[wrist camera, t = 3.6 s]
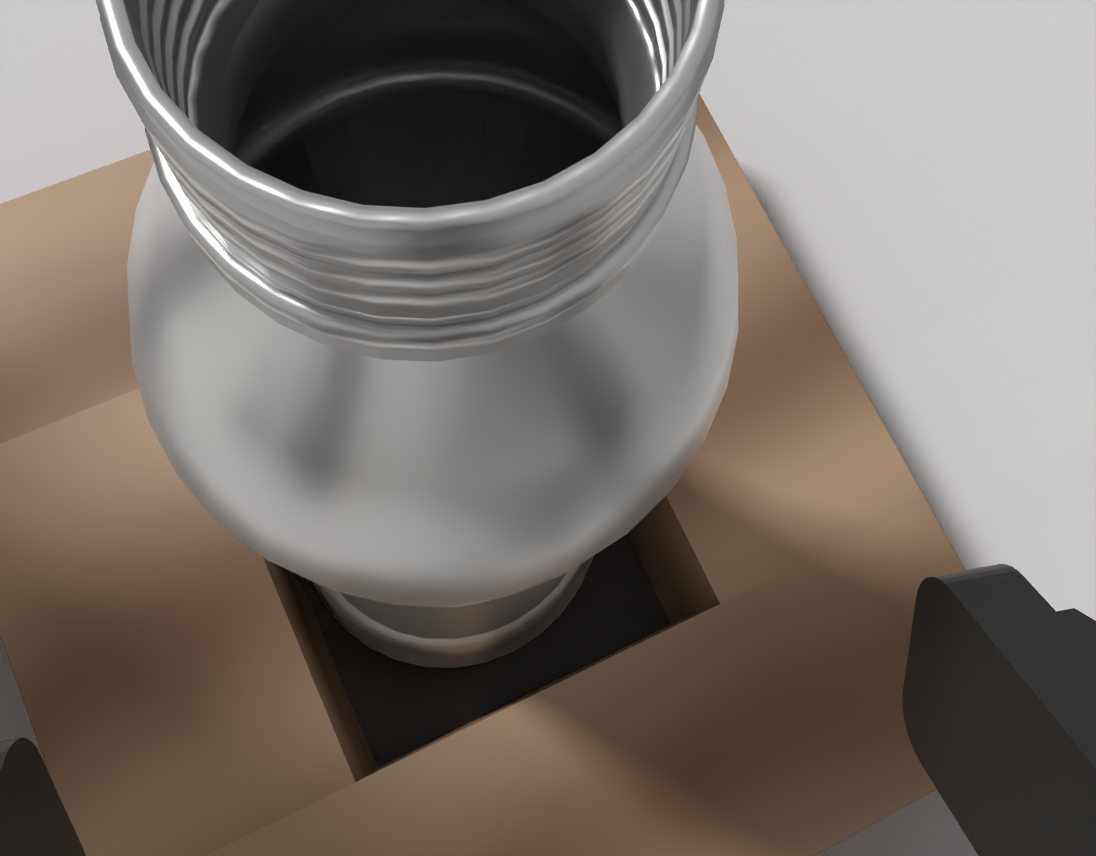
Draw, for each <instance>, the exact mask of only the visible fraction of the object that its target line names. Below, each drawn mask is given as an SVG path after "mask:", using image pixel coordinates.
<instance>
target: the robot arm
mask: <svg viewBox="0 0 1096 856" xmlns="http://www.w3.org/2000/svg"><path fill="white" fill-rule="evenodd" d="M902 706H903V715H904V720H905V725H906V729H907V732H908V736H909V739H910V742H911V744H912V747H913V749H914V751H915V753H916V756H917V758H918V759H919V761H920V763H921V765H922V766H923V768H924V769H925V771H926V773H927V774H928V776H929V777H930V779H931V780H932V782H933V784H934V785H935V787H936V788H937V790H938V792H939V793H940V795H941V796H942V798H943V800H944V801H945V803H946V804H947V806H948V807H949V809H950V811H951V812H952V814H953V815H954V817H955V819H956V820H957V822H958V823H959V825H960V827H961V828H962V830H963V831H964V833H965V834H966V836H967V838H968V839H969V841H970V842H971V844H972V846H973V847H974V849H975V850H976V852H977V854H978V855H979V856H1096V621H1095V620H1093V619H1092V618H1090V617H1088V616H1086V615H1085V614H1083V613H1081V612H1080V611H1078V610H1076V609H1074V608H1073V609H1068V610H1063V611H1057V612H1056V611H1055V610H1054V609H1053V608H1052V607H1051V606H1050V605H1049V603H1048V602H1047V601H1046V600H1045V599H1044V598H1043V597H1042V596H1041V595H1040V594H1039V593H1038V591H1037V590H1036V589H1035V588H1034V587H1033V586H1032V585H1031V584H1030V583H1029V582H1028V581H1027V580H1026V578H1025V577H1024V576H1023V575H1022V574H1021V573H1020V572H1018V571H1017V570H1016V569H1014V568H1013V567H1011V566H1009V565H1006V564H998V565H993V566H987V567H982V568H976V569H971V570H965V571H959V572H954V573H948V574H943V575H937V576H932V577H928V578H925V579H924V580H923V581H922V582H921V584H920V585H919V588H918V590H917V595H916V601H915V608H914V616H913V623H912V630H911V637H910V644H909V651H908V658H907V665H906V672H905V679H904V686H903V695H902ZM0 856H86V855H85V852H84V849H83V847H82V845H81V842H80V840H79V838H78V836H77V834H76V832H75V829H74V827H73V825H72V823H71V821H70V819H69V816H68V814H67V812H66V810H65V808H64V805H63V803H62V801H61V799H60V797H59V795H58V792H57V790H56V788H55V786H54V784H53V781H52V779H51V777H50V775H49V773H48V771H47V768H46V766H45V764H44V762H43V760H42V757H41V755H40V753H39V751H38V750H37V748H36V747H35V745H34V744H33V743H32V742H31V741H30V740H28V739H26V738H19V739H13V740H8V741H2V742H0Z"/></svg>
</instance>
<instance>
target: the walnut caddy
mask: <svg viewBox="0 0 1096 856" xmlns="http://www.w3.org/2000/svg"><path fill="white" fill-rule="evenodd" d="M696 125H697V126H698V128H699V129H700V131H701V132H702V134H703V135H704V137H705V139H706V142H707V144H708V146H709V149H710V151H711V153H712V156H713V158H714V160H715V163H716V165H717V167H718V170H719V172H720V174H721V177H722V179H723V181H724V184H725V186H726V191H727V196H728V201H729V206H730V210H731V215H732V220H733V225H734V229H735V234H736V239H737V261H738V335H737V340H736V345H735V350H734V355H733V360H732V365H731V371H730V376H729V381H728V386H727V389H726V391H725V394H724V396H723V398H722V401H721V403H720V405H719V408H718V410H717V413H716V415H715V417H714V420H713V422H712V425H711V427H710V429H709V432H708V434H707V437H706V439H705V441H704V443H703V444H702V446H701V447H700V449H699V450H698V452H697V453H696V455H695V456H694V458H693V459H692V460H691V462H690V463H689V465H688V466H687V468H686V469H685V471H684V472H683V474H682V475H681V477H680V478H679V480H678V481H677V483H676V484H675V486H674V487H673V488H672V490H671V491H670V492H669V493H668V494H667V495H666V496H665V497H664V498H663V499H662V500H661V501H660V502H659V503H658V504H657V505H656V506H655V507H654V508H653V509H652V510H651V511H650V512H649V513H648V514H647V515H646V516H645V517H644V518H643V519H642V520H641V521H640V522H639V523H638V524H637V525H636V526H635V527H634V528H632V529H631V530H630V531H629V532H628V533H627V535H628V537H629V539H630V541H631V543H632V545H633V547H634V550H635V552H636V554H637V556H638V558H639V560H640V562H641V564H642V566H643V568H644V570H645V572H646V574H647V576H648V578H649V580H650V582H651V584H652V586H653V588H654V590H655V592H656V594H657V596H658V598H659V600H660V602H661V605H662V607H663V609H664V611H665V613H666V615H667V617H668V619H669V621H670V623H671V624H669V625H667V626H665V627H663V628H661V629H659V630H657V631H655V632H653V633H651V634H649V635H647V636H645V637H643V638H641V639H639V640H637V641H635V642H632V643H630V644H628V645H626V646H624V647H622V648H620V649H618V650H616V651H614V652H612V653H610V654H608V655H606V656H604V657H602V658H600V659H598V660H596V661H594V662H592V663H589V664H587V665H585V666H583V667H581V668H579V669H577V670H575V671H573V672H571V673H569V674H567V675H565V676H563V677H561V678H559V679H557V680H555V681H553V682H551V683H549V684H546V685H544V686H542V687H540V688H538V689H536V690H534V691H532V692H530V693H528V694H526V695H524V696H522V697H520V698H518V699H516V700H514V701H512V702H510V703H508V704H506V705H503V706H501V707H499V708H497V709H495V710H493V711H491V712H489V713H487V714H485V715H483V716H481V717H479V718H477V719H475V720H473V721H471V722H469V723H467V724H465V725H463V726H460V727H458V728H456V729H454V730H452V731H450V732H448V733H446V734H444V735H442V736H440V737H438V738H436V739H434V740H432V741H430V742H428V743H426V744H424V745H422V746H420V747H417V748H415V749H413V750H411V751H409V752H407V753H405V754H403V755H401V756H399V757H397V758H395V759H393V760H391V761H389V762H387V763H385V764H383V765H381V766H379V767H378V766H377V764H376V761H375V759H374V757H373V754H372V752H371V749H370V747H369V745H368V742H367V740H366V737H365V735H364V733H363V730H362V728H361V725H360V723H359V721H358V718H357V716H356V713H355V711H354V709H353V706H352V704H351V701H350V699H349V697H348V694H347V692H346V690H345V687H344V685H343V682H342V680H341V678H340V675H339V673H338V670H337V668H336V666H335V663H334V661H333V658H332V656H331V654H330V651H329V649H328V646H327V644H326V642H325V639H324V637H323V634H322V632H321V630H320V627H319V625H318V622H317V620H316V618H315V615H314V613H313V610H312V608H311V606H310V603H309V601H308V598H307V596H306V594H305V591H304V589H303V586H302V584H301V582H300V579H299V577H298V575H297V574H296V573H294V572H291V571H289V570H287V569H285V568H283V567H281V566H279V565H277V564H275V563H272V562H270V561H268V560H266V559H265V558H263V557H262V556H261V555H260V554H258V553H257V552H256V551H254V550H253V549H252V548H250V547H249V546H248V545H246V544H245V543H244V542H243V541H241V540H240V539H239V538H237V537H236V536H235V535H233V534H232V533H231V532H230V531H228V530H227V529H226V528H224V527H223V526H222V525H220V524H219V523H218V522H216V521H215V519H214V518H213V517H212V516H211V515H210V513H209V512H208V511H207V510H206V509H205V508H204V506H203V505H202V504H201V503H200V502H199V500H198V499H197V498H196V497H195V496H194V494H193V493H192V492H191V491H190V490H189V489H188V487H187V486H186V485H185V484H184V483H183V481H182V480H181V479H180V478H179V477H178V476H177V474H176V473H175V471H174V469H173V467H172V465H171V463H170V461H169V459H168V457H167V456H166V454H165V452H164V450H163V448H162V446H161V444H160V442H159V440H158V438H157V437H156V435H155V433H154V431H153V429H152V427H151V425H150V423H149V421H148V419H147V415H146V412H145V408H144V404H143V401H142V397H141V393H140V390H139V386H138V383H137V379H136V375H135V372H134V368H133V364H132V355H131V336H130V318H129V299H128V277H127V263H128V256H129V250H130V244H131V237H132V231H133V225H134V218H135V212H136V207H137V205H138V202H139V199H140V197H141V194H142V191H143V189H144V186H145V184H146V181H147V178H148V176H149V173H150V170H151V168H152V165H153V162H154V159H153V156H152V152H151V150H149V151H146V152H143V153H140V154H138V155H135V156H132V157H129V158H127V159H124V160H121V161H118V162H115V163H113V164H110V165H107V166H104V167H102V168H99V169H96V170H93V171H91V172H88V173H85V174H82V175H79V176H77V177H74V178H71V179H68V180H66V181H63V182H60V183H57V184H55V185H52V186H49V187H46V188H43V189H41V190H38V191H35V192H32V193H30V194H27V195H24V196H21V197H19V198H16V199H13V200H10V201H7V202H5V203H2V204H0V635H1V638H2V641H3V644H4V647H5V649H6V652H7V655H8V658H9V661H10V664H11V667H12V669H13V672H14V675H15V678H16V681H17V684H18V687H19V689H20V692H21V695H22V698H23V701H24V704H25V707H26V709H27V712H28V715H29V718H30V721H31V724H32V727H33V729H34V732H35V735H36V738H37V741H38V744H39V747H40V749H41V752H42V755H43V758H44V761H45V764H46V767H47V769H48V772H49V775H50V777H51V779H52V781H53V784H54V786H55V788H56V790H57V792H58V795H59V797H60V799H61V801H62V803H63V805H64V808H65V810H66V812H67V814H68V816H69V819H70V821H71V823H72V825H73V827H74V829H75V832H76V834H77V836H78V838H79V840H80V842H81V845H82V847H83V849H84V852H85V855H86V856H815V855H817V854H819V853H820V852H822V851H824V850H826V849H828V848H829V847H831V846H833V845H835V844H837V843H839V842H840V841H842V840H844V839H846V838H848V837H850V836H851V835H853V834H855V833H857V832H859V831H860V830H862V829H864V828H866V827H868V826H870V825H871V824H873V823H875V822H877V821H879V820H881V819H882V818H884V817H886V816H888V815H890V814H891V813H893V812H895V811H897V810H899V809H901V808H902V807H904V806H906V805H908V804H910V803H912V802H913V801H915V800H917V799H919V798H921V797H923V796H924V795H926V794H928V793H930V792H932V791H933V790H935V789H937V788H936V787H935V785H934V784H933V782H932V780H931V779H930V777H929V776H928V774H927V773H926V771H925V769H924V768H923V766H922V765H921V763H920V761H919V759H918V758H917V756H916V753H915V751H914V749H913V747H912V744H911V742H910V739H909V736H908V732H907V729H906V725H905V720H904V715H903V706H902V695H903V686H904V679H905V672H906V665H907V658H908V651H909V644H910V637H911V630H912V623H913V616H914V608H915V601H916V595H917V590H918V588H919V585H920V584H921V582H922V581H923V580H924V579H925V578H928V577H932V576H937V575H943V574H948V573H954V572H959V571H965V569H964V567H963V565H962V563H961V562H960V560H959V558H958V556H957V554H956V553H955V551H954V549H953V547H952V545H951V544H950V542H949V540H948V538H947V536H946V535H945V533H944V531H943V529H942V528H941V526H940V524H939V522H938V520H937V519H936V517H935V515H934V513H933V511H932V510H931V508H930V506H929V504H928V502H927V501H926V499H925V497H924V495H923V493H922V492H921V490H920V488H919V486H918V485H917V483H916V481H915V479H914V477H913V476H912V474H911V472H910V470H909V468H908V467H907V465H906V463H905V461H904V459H903V458H902V456H901V454H900V452H899V451H898V449H897V447H896V445H895V443H894V442H893V440H892V438H891V436H890V434H889V433H888V431H887V429H886V427H885V425H884V424H883V422H882V420H881V418H880V416H879V415H878V413H877V411H876V409H875V408H874V406H873V404H872V402H871V400H870V399H869V397H868V395H867V393H866V391H865V390H864V388H863V386H862V384H861V382H860V381H859V379H858V377H857V375H856V374H855V372H854V370H853V368H852V366H851V365H850V363H849V361H848V359H847V357H846V356H845V354H844V352H843V350H842V348H841V347H840V345H839V343H838V341H837V339H836V338H835V336H834V334H833V332H832V331H831V329H830V327H829V325H828V323H827V322H826V320H825V318H824V316H823V314H822V313H821V311H820V309H819V307H818V305H817V304H816V302H815V300H814V298H813V297H812V295H811V293H810V291H809V289H808V288H807V286H806V284H805V282H804V280H803V279H802V277H801V275H800V273H799V271H798V270H797V268H796V266H795V264H794V262H793V261H792V259H791V257H790V255H789V254H788V252H787V250H786V248H785V246H784V245H783V243H782V241H781V239H780V237H779V236H778V234H777V232H776V230H775V228H774V227H773V225H772V223H771V221H770V220H769V218H768V216H767V214H766V212H765V211H764V209H763V207H762V205H761V203H760V202H759V200H758V198H757V196H756V194H755V193H754V191H753V189H752V187H751V185H750V184H749V182H748V180H747V178H746V177H745V175H744V173H743V171H742V169H741V168H740V166H739V164H738V162H737V160H736V159H735V157H734V155H733V153H732V151H731V150H730V148H729V146H728V144H727V143H726V141H725V139H724V137H723V135H722V134H721V132H720V130H719V128H718V126H717V125H716V123H715V121H714V119H713V117H712V116H711V114H710V112H709V110H708V108H707V107H706V105H705V103H704V101H703V100H702V98H701V96H700V94H699V115H698V119H697V124H696Z"/></svg>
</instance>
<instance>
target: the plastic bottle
mask: <svg viewBox="0 0 1096 856" xmlns="http://www.w3.org/2000/svg"><path fill="white" fill-rule="evenodd" d="M96 3H97V6H98V10H99V13H100V21H101V24H102V28H103V31H104V35H105V38H106V42H107V45H108V49H109V52H110V55H111V59H112V62H113V66H114V69H115V73H116V75H117V77H118V79H119V81H120V83H121V84H122V86H123V88H124V90H125V92H126V93H127V95H128V97H129V99H130V100H131V102H132V104H133V106H134V108H135V109H136V111H137V113H138V115H139V117H140V118H141V120H142V122H143V124H144V126H145V132H146V135H147V139H148V142H149V146H150V149H151V152H152V156H153V159H154V162H153V165H152V168H151V170H150V173H149V176H148V178H147V181H146V184H145V186H144V189H143V191H142V194H141V197H140V199H139V202H138V205H137V207H136V212H135V218H134V225H133V231H132V237H131V244H130V250H129V256H128V263H127V277H128V299H129V318H130V336H131V355H132V364H133V368H134V372H135V375H136V379H137V383H138V386H139V390H140V393H141V397H142V401H143V404H144V408H145V412H146V415H147V419H148V421H149V423H150V425H151V427H152V429H153V431H154V433H155V435H156V437H157V438H158V440H159V442H160V444H161V446H162V448H163V450H164V452H165V454H166V456H167V457H168V459H169V461H170V463H171V465H172V467H173V469H174V471H175V473H176V474H177V476H178V477H179V478H180V479H181V480H182V481H183V483H184V484H185V485H186V486H187V487H188V489H189V490H190V491H191V492H192V493H193V494H194V496H195V497H196V498H197V499H198V500H199V502H200V503H201V504H202V505H203V506H204V508H205V509H206V510H207V511H208V512H209V513H210V515H211V516H212V517H213V518H214V519H215V521H216V522H218V523H219V524H220V525H222V526H223V527H224V528H226V529H227V530H228V531H230V532H231V533H232V534H233V535H235V536H236V537H237V538H239V539H240V540H241V541H243V542H244V543H245V544H246V545H248V546H249V547H250V548H252V549H253V550H254V551H256V552H257V553H258V554H260V555H261V556H262V557H263V558H265V559H266V560H268V561H270V562H272V563H275V564H277V565H279V566H281V567H283V568H285V569H287V570H289V571H291V572H294V573H296V574H298V575H300V576H302V577H304V578H306V579H308V580H311V581H312V583H313V585H314V587H315V589H316V590H317V592H318V594H319V596H320V598H321V600H322V602H323V603H324V605H325V607H326V608H327V609H328V610H329V611H330V612H331V614H332V615H333V616H334V617H335V618H336V619H337V621H338V622H339V623H340V624H341V625H342V627H343V628H344V629H345V630H347V631H348V632H349V633H351V634H352V635H353V636H355V637H356V638H357V639H358V640H360V641H361V642H362V643H364V644H365V645H366V646H368V647H369V648H371V649H373V650H376V651H378V652H380V653H382V654H384V655H386V656H388V657H390V658H392V659H395V660H397V661H402V662H406V663H410V664H414V665H419V666H423V667H442V668H458V667H463V666H469V665H474V664H480V663H485V662H488V661H491V660H493V659H496V658H498V657H501V656H503V655H506V654H508V653H511V652H513V651H515V650H517V649H519V648H520V647H522V646H523V645H525V644H526V643H528V642H529V641H531V640H532V639H534V638H535V637H537V636H538V635H540V634H541V633H542V632H543V631H544V630H545V629H546V628H547V627H548V626H549V625H550V624H551V623H552V622H553V621H554V620H555V619H557V618H558V617H559V616H560V615H561V614H562V613H563V612H564V610H565V609H566V607H567V606H568V604H569V603H570V601H571V600H572V598H573V597H574V595H575V594H576V593H577V591H578V590H579V588H580V587H581V585H582V582H583V580H584V578H585V575H586V573H587V571H588V569H589V566H590V564H591V562H592V559H593V556H594V555H595V554H597V553H598V552H600V551H602V550H603V549H605V548H606V547H608V546H609V545H611V544H612V543H614V542H615V541H617V540H618V539H620V538H622V537H623V536H625V535H626V534H627V533H628V532H629V531H630V530H631V529H632V528H634V527H635V526H636V525H637V524H638V523H639V522H640V521H641V520H642V519H643V518H644V517H645V516H646V515H647V514H648V513H649V512H650V511H651V510H652V509H653V508H654V507H655V506H656V505H657V504H658V503H659V502H660V501H661V500H662V499H663V498H664V497H665V496H666V495H667V494H668V493H669V492H670V491H671V490H672V488H673V487H674V486H675V484H676V483H677V481H678V480H679V478H680V477H681V475H682V474H683V472H684V471H685V469H686V468H687V466H688V465H689V463H690V462H691V460H692V459H693V458H694V456H695V455H696V453H697V452H698V450H699V449H700V447H701V446H702V444H703V443H704V441H705V439H706V437H707V434H708V432H709V429H710V427H711V425H712V422H713V420H714V417H715V415H716V413H717V410H718V408H719V405H720V403H721V401H722V398H723V396H724V394H725V391H726V389H727V386H728V381H729V376H730V371H731V365H732V360H733V355H734V350H735V345H736V340H737V335H738V261H737V239H736V234H735V229H734V225H733V220H732V215H731V210H730V206H729V201H728V196H727V191H726V186H725V184H724V181H723V179H722V177H721V174H720V172H719V170H718V167H717V165H716V163H715V160H714V158H713V156H712V153H711V151H710V149H709V146H708V144H707V142H706V139H705V137H704V135H703V134H702V132H701V131H700V129H699V128H698V126H697V125H696V124H697V119H698V115H699V92H700V90H701V87H702V84H703V81H704V79H705V76H706V74H707V71H708V69H709V66H710V64H711V62H712V59H713V55H714V50H715V46H716V41H717V37H718V32H719V28H720V23H721V19H722V14H723V9H724V0H96Z"/></svg>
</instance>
